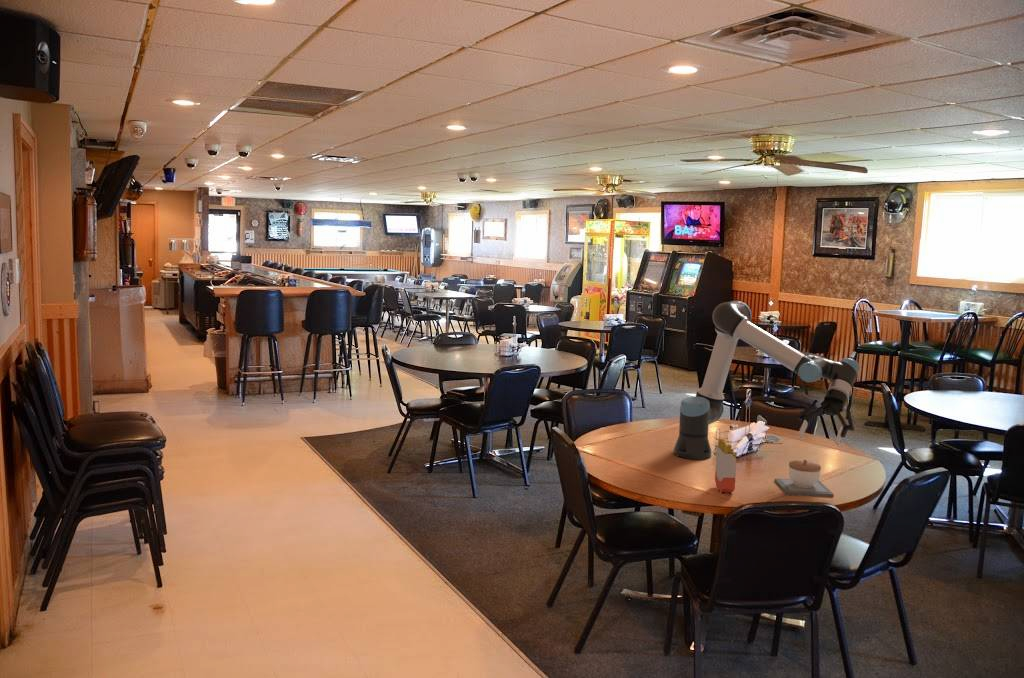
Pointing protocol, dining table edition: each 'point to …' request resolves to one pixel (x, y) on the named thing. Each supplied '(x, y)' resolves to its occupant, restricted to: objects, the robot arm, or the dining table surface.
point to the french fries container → (725, 467)
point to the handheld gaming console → (769, 438)
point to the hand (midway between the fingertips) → (818, 439)
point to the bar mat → (803, 489)
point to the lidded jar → (804, 473)
